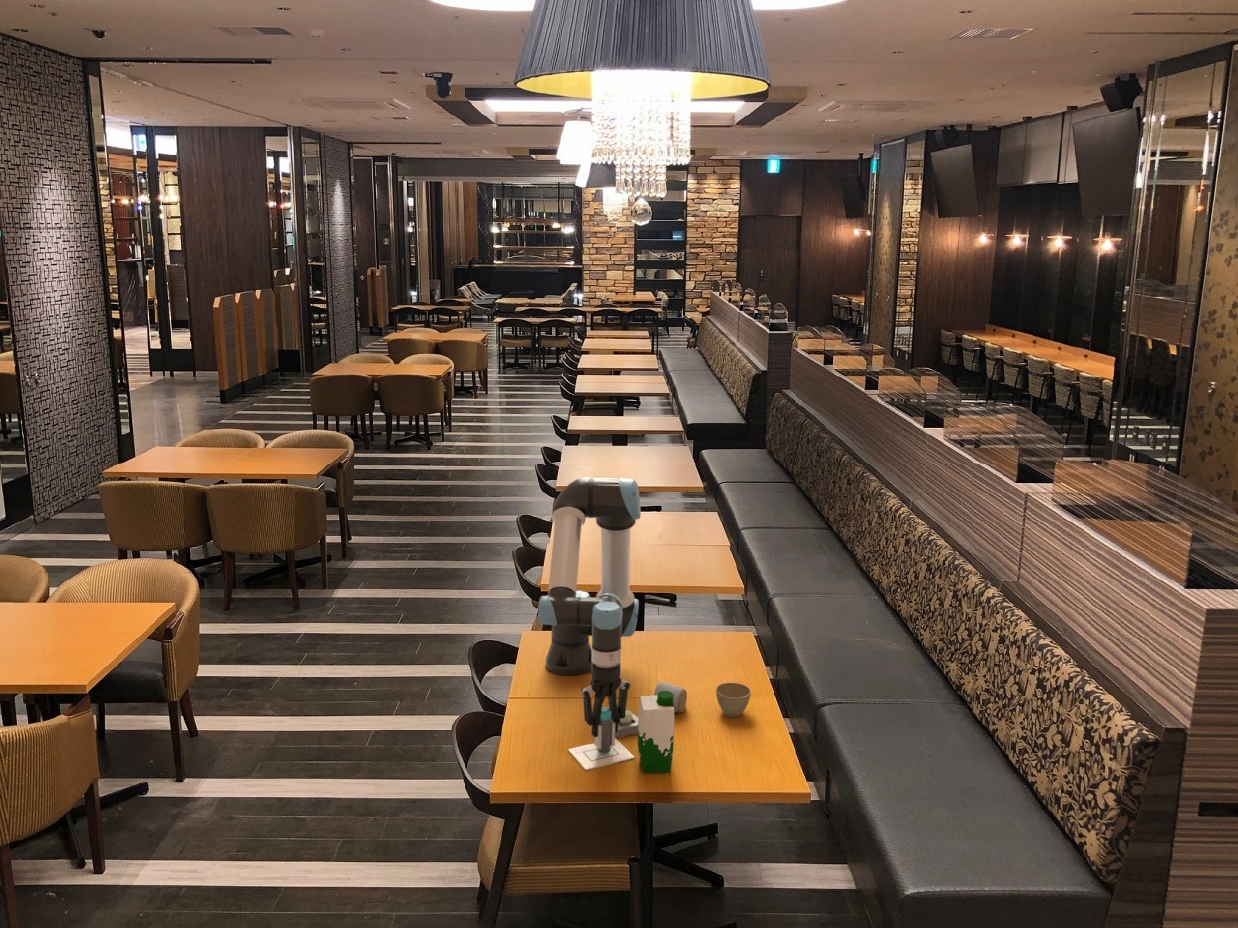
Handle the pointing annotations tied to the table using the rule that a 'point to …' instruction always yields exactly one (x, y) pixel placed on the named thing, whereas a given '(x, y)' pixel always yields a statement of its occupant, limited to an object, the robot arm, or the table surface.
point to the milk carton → (656, 732)
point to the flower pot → (733, 698)
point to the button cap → (626, 718)
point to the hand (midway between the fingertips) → (604, 744)
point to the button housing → (628, 728)
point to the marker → (605, 731)
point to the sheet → (592, 758)
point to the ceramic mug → (674, 695)
